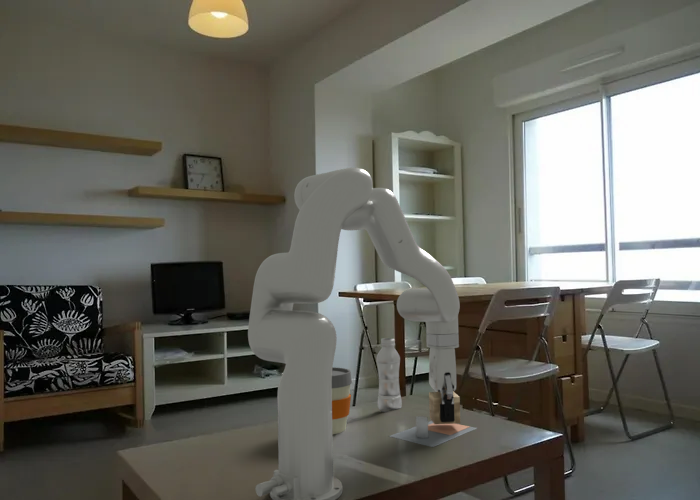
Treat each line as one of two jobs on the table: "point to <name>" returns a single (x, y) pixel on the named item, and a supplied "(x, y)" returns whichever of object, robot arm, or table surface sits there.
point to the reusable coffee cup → (340, 398)
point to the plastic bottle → (388, 376)
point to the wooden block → (435, 408)
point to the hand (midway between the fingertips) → (444, 416)
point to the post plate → (432, 432)
